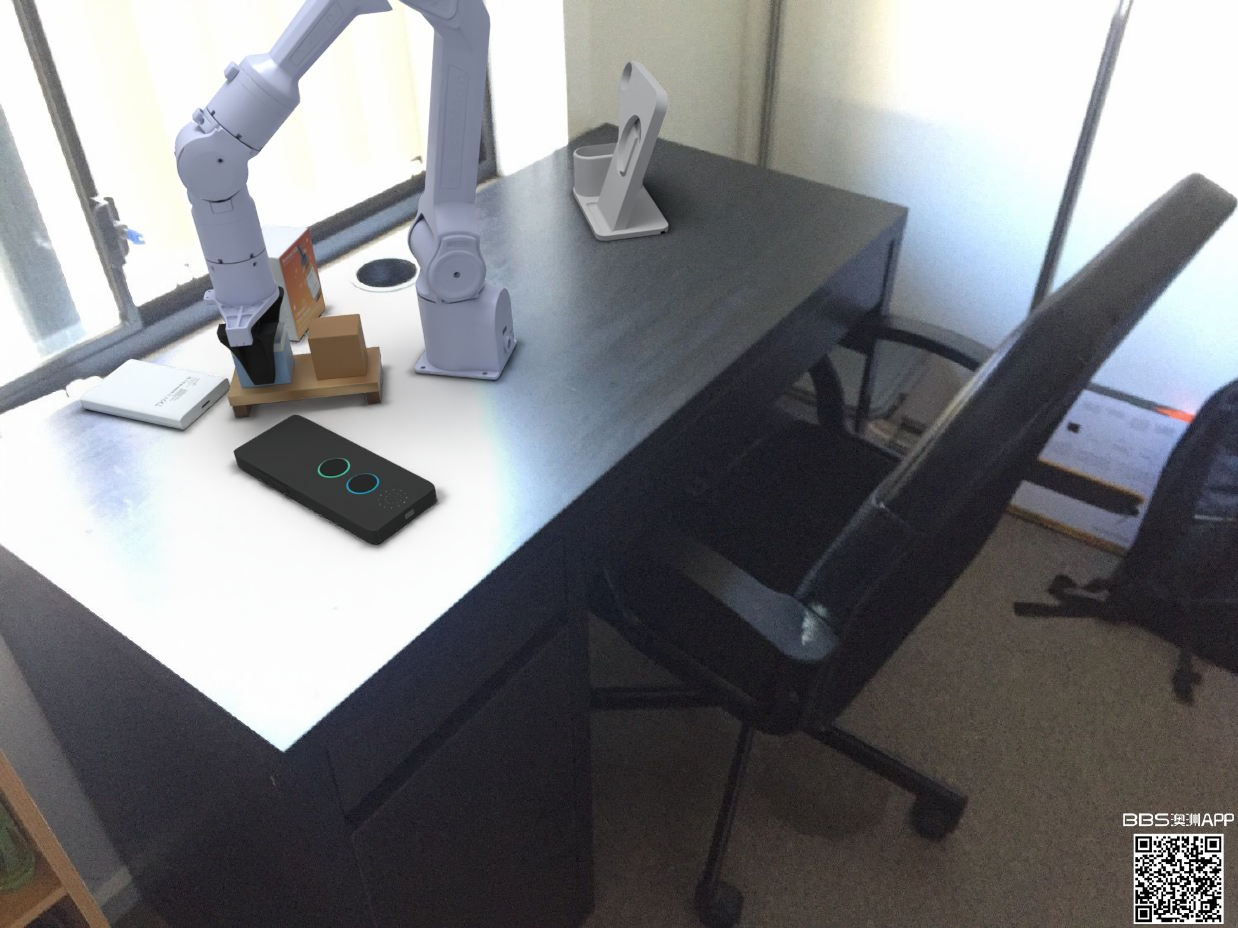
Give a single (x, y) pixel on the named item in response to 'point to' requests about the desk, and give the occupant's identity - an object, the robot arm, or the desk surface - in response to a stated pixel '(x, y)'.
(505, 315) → the robot arm
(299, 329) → the small box
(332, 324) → the brown carton
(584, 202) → the phone holder
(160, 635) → the desk surface
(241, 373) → the blue carton
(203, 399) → the hard drive
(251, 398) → the wooden stand
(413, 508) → the smart home device
